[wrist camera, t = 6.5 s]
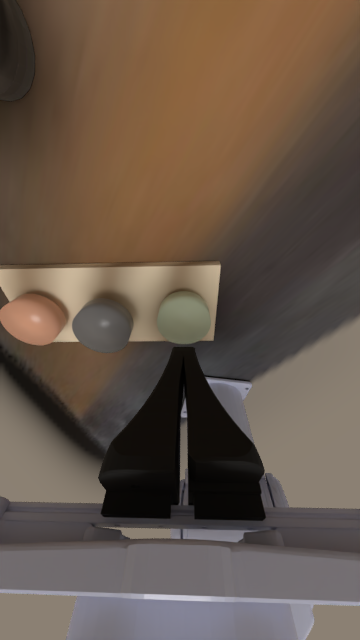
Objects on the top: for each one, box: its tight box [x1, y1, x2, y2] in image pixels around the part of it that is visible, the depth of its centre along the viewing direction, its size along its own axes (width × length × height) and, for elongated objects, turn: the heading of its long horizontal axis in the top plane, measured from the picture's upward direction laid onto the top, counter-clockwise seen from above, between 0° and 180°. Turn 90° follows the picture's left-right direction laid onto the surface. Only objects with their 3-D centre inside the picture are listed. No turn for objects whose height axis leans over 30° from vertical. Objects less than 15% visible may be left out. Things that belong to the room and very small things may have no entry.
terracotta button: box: [0, 293, 66, 345], centre depth 17 cm, size 4×4×2 cm
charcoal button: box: [72, 298, 134, 353], centre depth 16 cm, size 4×4×2 cm
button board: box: [0, 261, 221, 342], centre depth 19 cm, size 19×8×1 cm, turn 91°
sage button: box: [157, 291, 211, 344], centre depth 17 cm, size 4×4×2 cm
